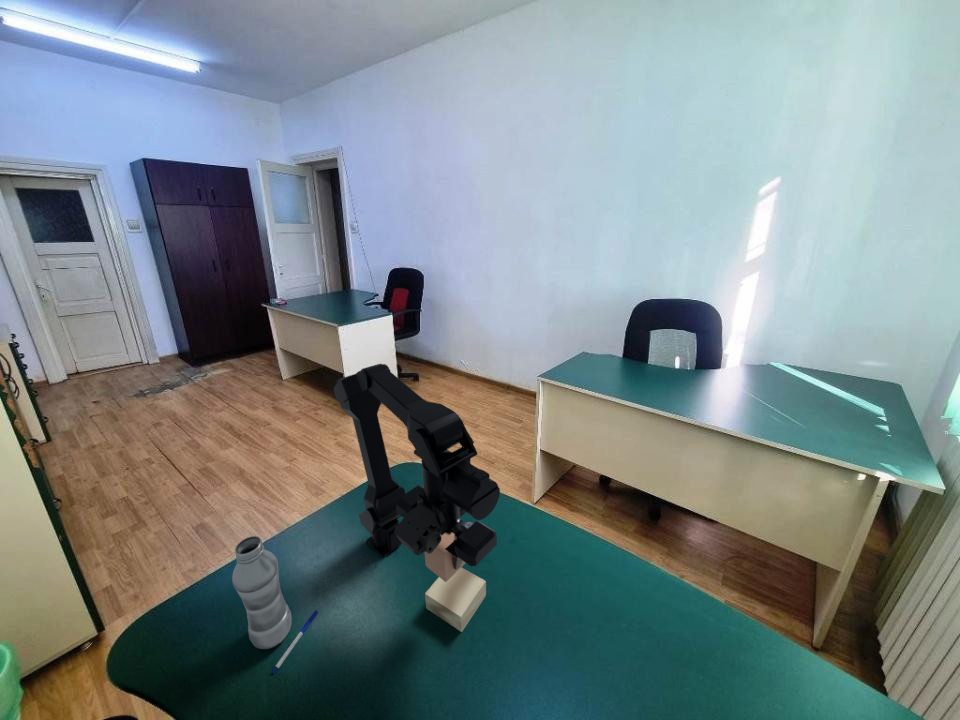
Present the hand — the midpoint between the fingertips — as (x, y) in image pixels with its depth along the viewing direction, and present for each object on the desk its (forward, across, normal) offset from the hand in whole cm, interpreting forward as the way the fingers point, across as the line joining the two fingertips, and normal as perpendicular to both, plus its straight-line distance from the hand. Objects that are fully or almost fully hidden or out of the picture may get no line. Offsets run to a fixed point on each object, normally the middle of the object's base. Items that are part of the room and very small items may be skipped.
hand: (446, 559), depth 65 cm
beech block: (+12, 0, +2) cm, 12 cm away
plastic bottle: (+11, -20, -23) cm, 32 cm away
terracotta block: (+1, 0, 0) cm, 1 cm away
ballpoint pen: (+12, -16, -21) cm, 29 cm away
